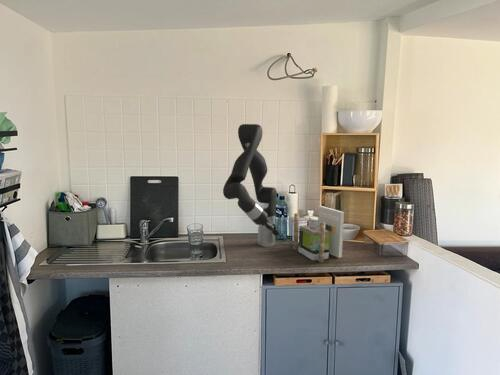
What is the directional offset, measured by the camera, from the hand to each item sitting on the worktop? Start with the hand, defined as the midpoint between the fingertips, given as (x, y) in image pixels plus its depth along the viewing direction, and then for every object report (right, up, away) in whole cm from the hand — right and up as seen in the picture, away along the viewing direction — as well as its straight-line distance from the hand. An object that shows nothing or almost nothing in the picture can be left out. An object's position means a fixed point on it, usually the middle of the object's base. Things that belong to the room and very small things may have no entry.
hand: (277, 234), depth 185 cm
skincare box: (+25, -10, +30) cm, 40 cm away
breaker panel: (+29, -12, +16) cm, 35 cm away
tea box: (+20, -13, +11) cm, 26 cm away
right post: (+22, -14, +2) cm, 26 cm away
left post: (+12, -11, +21) cm, 26 cm away
